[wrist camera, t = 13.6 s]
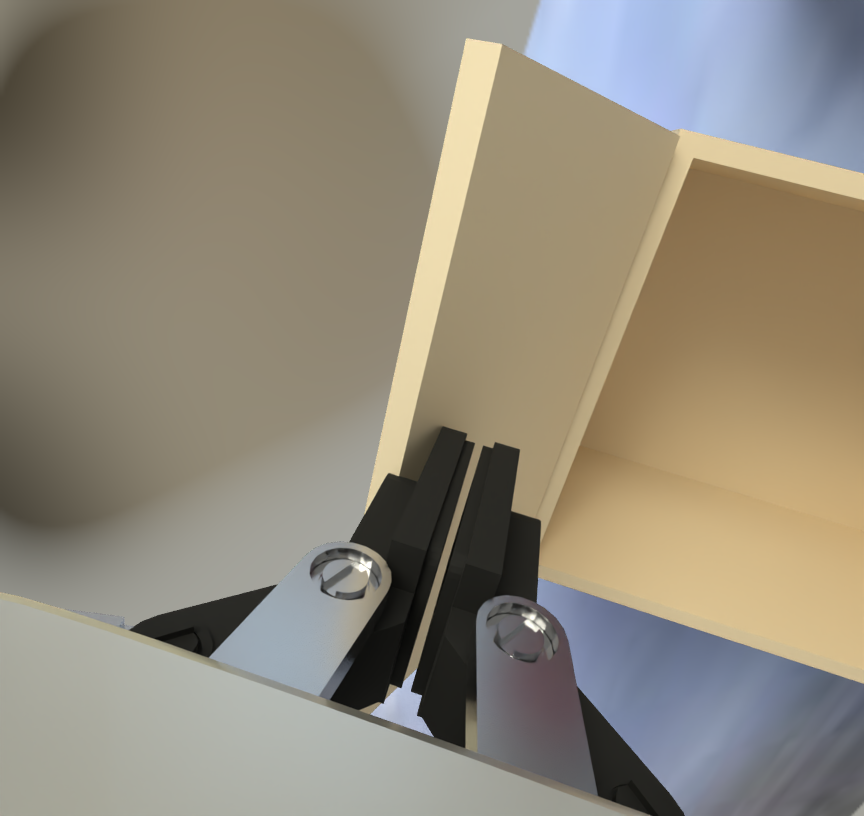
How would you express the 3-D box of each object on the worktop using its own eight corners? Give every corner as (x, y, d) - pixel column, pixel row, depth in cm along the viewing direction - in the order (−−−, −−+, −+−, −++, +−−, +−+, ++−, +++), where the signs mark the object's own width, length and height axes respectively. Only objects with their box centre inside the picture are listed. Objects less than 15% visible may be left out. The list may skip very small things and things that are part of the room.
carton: (633, 139, 26) (680, 128, 16) (1095, 253, 24) (1511, 331, 14) (530, 435, 33) (513, 569, 23) (883, 542, 31) (1048, 743, 21)
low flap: (680, 136, 15) (658, 131, 16) (502, 44, 8) (466, 38, 8) (514, 572, 22) (501, 563, 22) (333, 750, 15) (316, 734, 15)
